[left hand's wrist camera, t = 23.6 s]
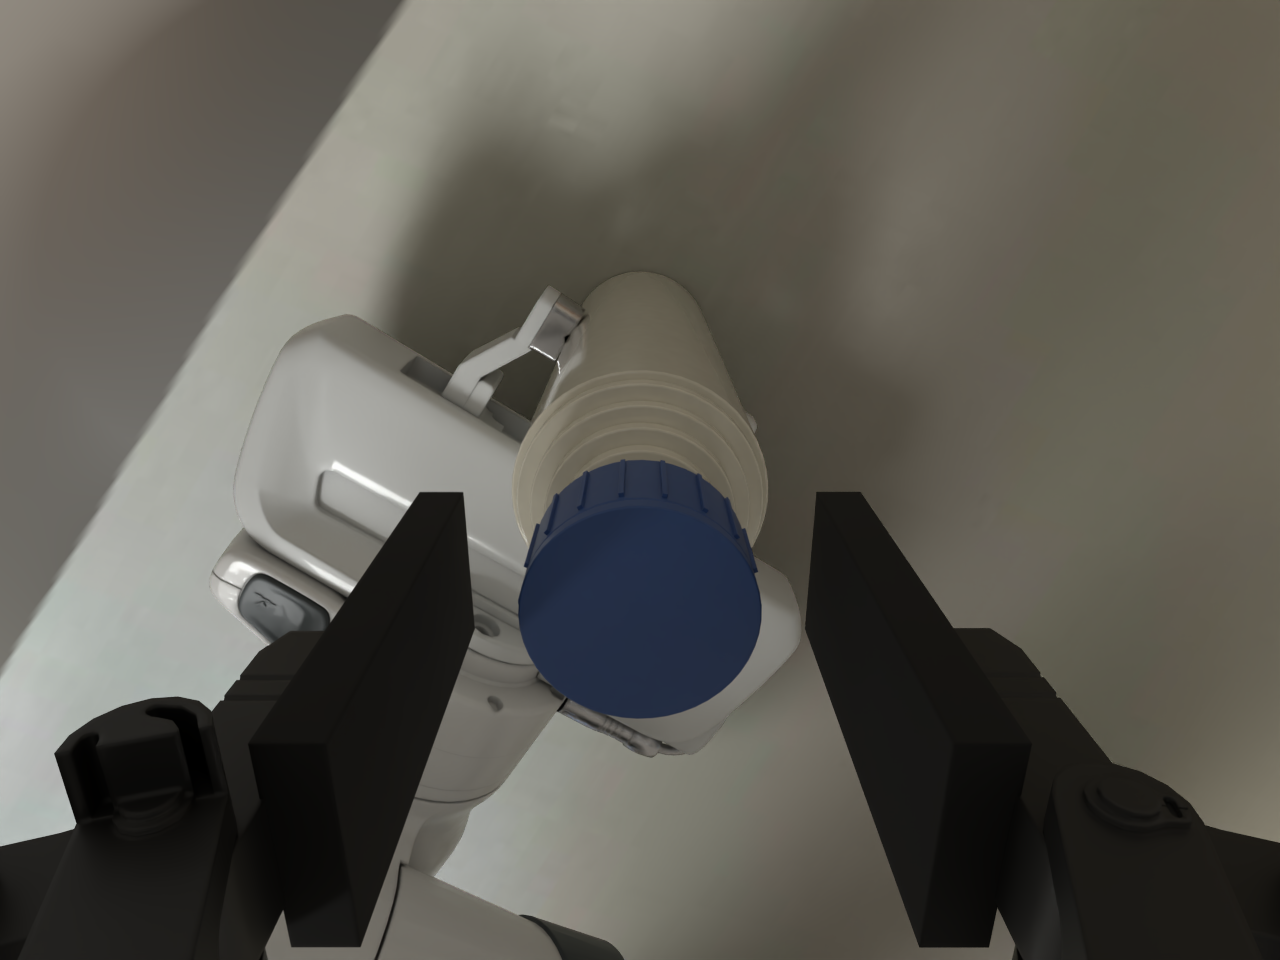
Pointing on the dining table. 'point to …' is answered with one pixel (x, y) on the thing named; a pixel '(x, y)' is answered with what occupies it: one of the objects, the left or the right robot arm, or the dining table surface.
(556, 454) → the bottle
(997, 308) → the dining table surface
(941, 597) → the dining table surface
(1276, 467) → the dining table surface
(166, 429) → the dining table surface
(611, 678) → the cap
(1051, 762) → the left robot arm
